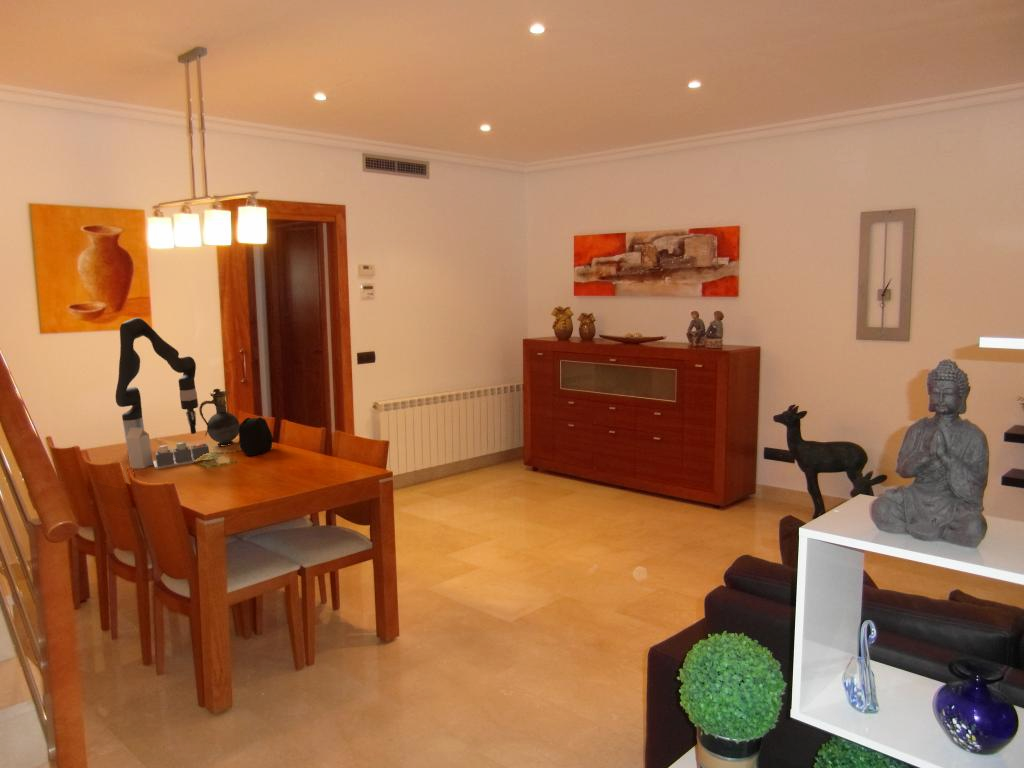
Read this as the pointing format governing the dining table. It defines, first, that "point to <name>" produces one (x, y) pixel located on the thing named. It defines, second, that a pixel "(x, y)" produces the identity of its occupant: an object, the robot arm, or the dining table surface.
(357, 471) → the dining table surface
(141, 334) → the robot arm
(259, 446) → the black rounded dome
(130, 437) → the milk carton
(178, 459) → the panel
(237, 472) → the dining table surface
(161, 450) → the cream white egg
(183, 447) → the pale green egg
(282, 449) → the dining table surface
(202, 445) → the brown egg
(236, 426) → the pitcher
